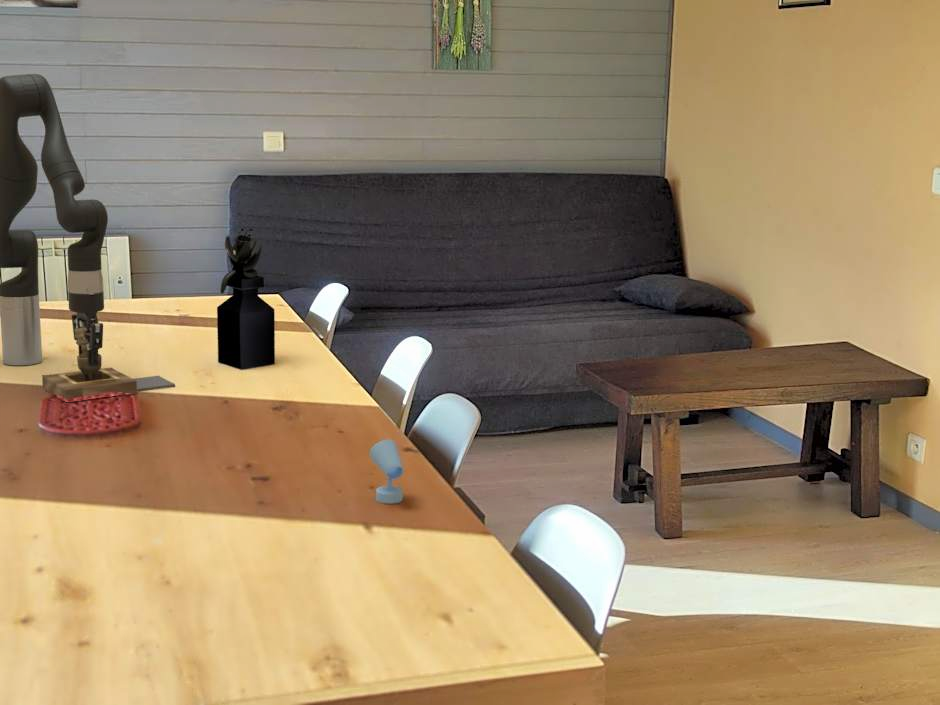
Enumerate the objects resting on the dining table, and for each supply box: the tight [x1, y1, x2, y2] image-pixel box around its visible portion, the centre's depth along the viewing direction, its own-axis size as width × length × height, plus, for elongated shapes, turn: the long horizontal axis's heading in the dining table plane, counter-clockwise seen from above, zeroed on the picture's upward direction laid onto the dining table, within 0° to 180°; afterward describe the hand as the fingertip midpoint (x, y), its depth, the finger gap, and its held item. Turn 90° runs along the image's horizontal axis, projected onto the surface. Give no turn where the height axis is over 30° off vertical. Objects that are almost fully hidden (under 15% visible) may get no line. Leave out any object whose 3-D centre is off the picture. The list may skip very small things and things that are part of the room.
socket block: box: [41, 367, 138, 399], centre depth 249 cm, size 16×16×3 cm
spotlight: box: [369, 439, 405, 505], centre depth 184 cm, size 5×10×7 cm
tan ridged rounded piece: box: [75, 327, 102, 382], centre depth 247 cm, size 6×6×15 cm
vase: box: [216, 228, 276, 371], centre depth 278 cm, size 14×12×35 cm
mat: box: [133, 375, 176, 393], centre depth 256 cm, size 10×10×1 cm
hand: (88, 362), depth 248 cm, fingers closed on tan ridged rounded piece, 5 cm apart
